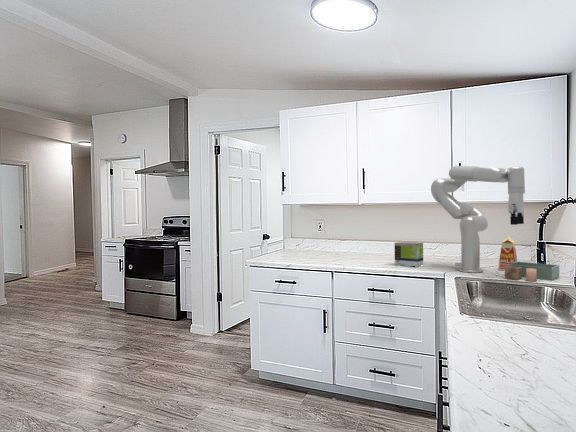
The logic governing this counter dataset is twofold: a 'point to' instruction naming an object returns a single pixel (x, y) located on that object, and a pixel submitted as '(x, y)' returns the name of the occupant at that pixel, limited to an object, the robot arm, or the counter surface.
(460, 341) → the counter surface
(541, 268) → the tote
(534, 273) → the terracotta jar
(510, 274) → the walnut block
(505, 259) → the milk carton
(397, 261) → the tea box
